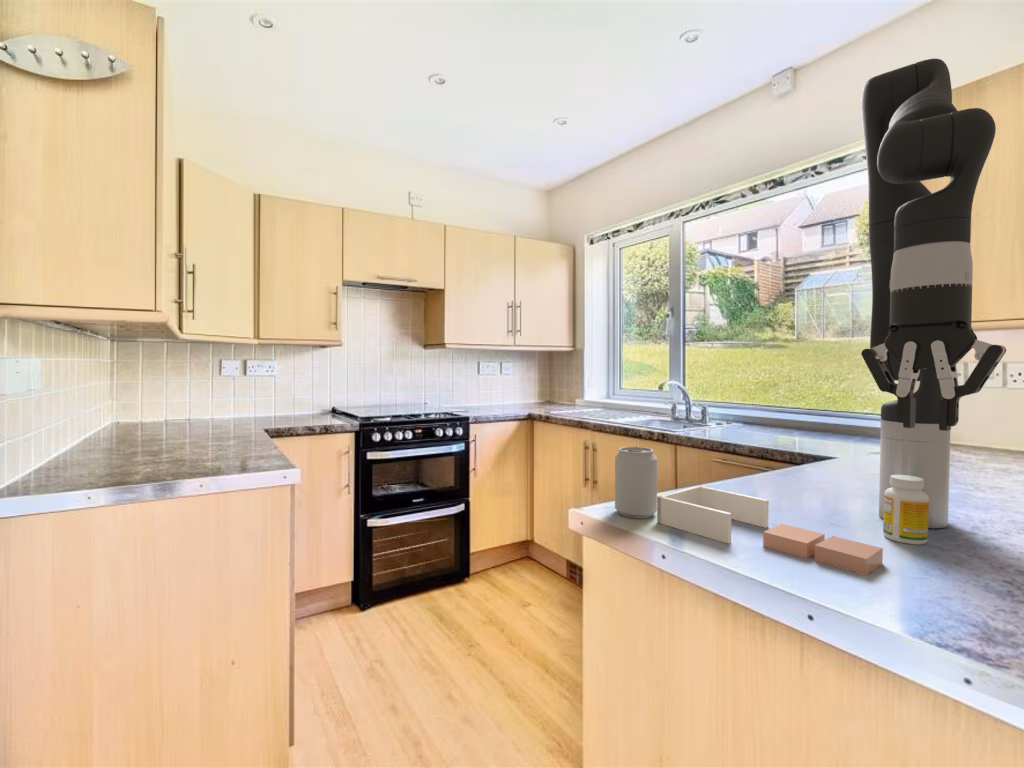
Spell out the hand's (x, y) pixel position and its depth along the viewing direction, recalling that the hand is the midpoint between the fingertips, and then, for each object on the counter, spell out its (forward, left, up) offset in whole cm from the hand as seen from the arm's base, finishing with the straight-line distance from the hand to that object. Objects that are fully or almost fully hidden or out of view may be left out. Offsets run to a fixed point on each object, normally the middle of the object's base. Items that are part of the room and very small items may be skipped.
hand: (926, 428), depth 59 cm
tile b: (0, -8, -20) cm, 21 cm away
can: (+5, -40, -19) cm, 45 cm away
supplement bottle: (-17, -6, -19) cm, 26 cm away
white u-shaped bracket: (0, -28, -19) cm, 34 cm away
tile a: (0, -15, -20) cm, 25 cm away
